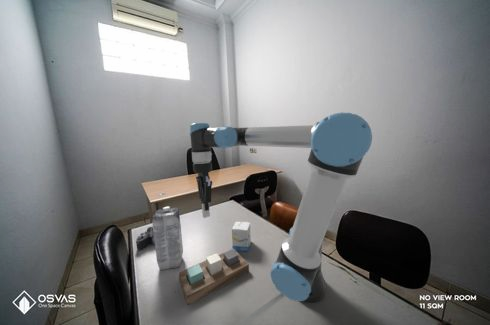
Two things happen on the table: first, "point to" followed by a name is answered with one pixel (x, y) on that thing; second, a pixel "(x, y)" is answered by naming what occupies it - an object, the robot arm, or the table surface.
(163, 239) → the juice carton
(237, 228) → the ink box
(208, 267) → the key ivory
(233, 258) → the block
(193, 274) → the key teal
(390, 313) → the table surface
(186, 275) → the keypad base
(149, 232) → the camera
